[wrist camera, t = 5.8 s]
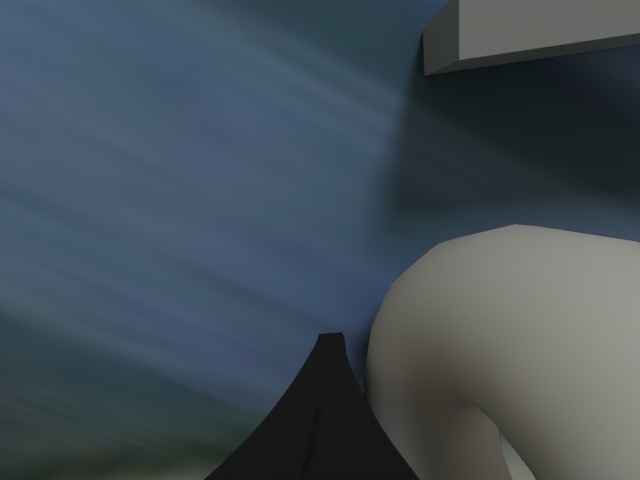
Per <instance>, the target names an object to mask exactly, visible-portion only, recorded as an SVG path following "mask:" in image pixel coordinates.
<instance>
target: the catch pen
mask: <svg viewBox="0 0 640 480" xmlns="http://www.w3.org/2000/svg"><path fill="white" fill-rule="evenodd" d="M638 44H640V0H450V1H449V2H448V3H447V4H446V6H445V7H444V8H443V9H442V10H441V11H440V12H439V13H438V14H437V15H436V16H435V17H434V19H433V20H432V21H431V22H430V23H429V24H428V25H427V26H426V27H425V28H424V29H423V49H424V76H426V75H433V74H440V73H447V72H453V71H460V70H467V69H474V68H481V67H488V66H494V65H501V64H508V63H515V62H522V61H529V60H535V59H542V58H549V57H556V56H563V55H570V54H576V53H583V52H590V51H597V50H604V49H610V48H617V47H624V46H631V45H638Z"/></svg>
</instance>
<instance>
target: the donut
mask: <svg viewBox="0 0 640 480" xmlns="http://www.w3.org/2000/svg"><path fill="white" fill-rule="evenodd" d="M364 383H365V399H366V401H367V403H368V405H369V407H370V408H371V410H372V412H373V414H374V415H375V417H376V419H377V420H378V422H379V423H380V425H381V427H382V428H383V430H384V431H385V433H386V434H387V436H388V437H389V439H390V440H391V442H392V443H393V445H394V446H395V447H396V449H397V450H398V451H399V453H400V454H401V455H402V457H403V458H404V459H405V460H406V462H407V463H408V464H409V466H410V467H411V468H412V470H413V471H414V472H415V473H416V475H417V476H418V477H419V479H420V480H512V478H511V475H510V472H509V469H508V466H507V464H506V461H505V458H504V455H503V453H502V447H501V441H500V436H499V430H500V431H501V433H502V434H503V435H504V437H505V438H506V439H507V440H508V442H509V443H510V444H511V446H512V447H513V448H514V449H515V451H516V452H517V453H518V455H519V456H520V457H521V459H522V460H523V461H524V462H525V464H526V465H527V466H528V468H529V469H530V470H531V472H532V473H533V475H534V477H535V479H536V480H640V243H638V242H635V241H629V240H622V239H616V238H609V237H603V236H597V235H590V234H584V233H577V232H571V231H565V230H558V229H552V228H546V227H539V226H528V225H517V224H514V225H510V226H505V227H501V228H497V229H493V230H489V231H484V232H480V233H476V234H472V235H467V236H463V237H459V238H456V239H452V240H449V241H445V242H442V243H439V244H437V245H436V246H435V247H433V248H432V249H431V250H429V251H428V252H427V253H426V254H424V255H423V256H422V257H421V258H420V259H418V260H417V261H416V262H415V263H414V264H413V265H412V266H410V267H409V268H408V269H407V270H406V271H405V272H404V273H403V274H401V275H400V276H399V277H398V278H397V279H396V280H395V281H394V282H393V283H392V285H391V287H390V289H389V291H388V292H387V294H386V296H385V298H384V300H383V302H382V305H381V307H380V309H379V311H378V314H377V316H376V318H375V320H374V322H373V325H372V327H371V332H370V339H369V346H368V353H367V359H366V367H365V377H364ZM498 429H499V430H498Z"/></svg>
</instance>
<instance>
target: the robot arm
mask: <svg viewBox="0 0 640 480" xmlns="http://www.w3.org/2000/svg"><path fill="white" fill-rule="evenodd" d="M204 480H420V479H419V477H418V476H417V475H416V473H415V472H414V471H413V470H412V468H411V467H410V466H409V464H408V463H407V462H406V460H405V459H404V458H403V457H402V455H401V454H400V453H399V451H398V450H397V449H396V447H395V446H394V445H393V443H392V442H391V440H390V439H389V437H388V436H387V434H386V433H385V431H384V430H383V428H382V427H381V425H380V423H379V422H378V420H377V419H376V417H375V415H374V414H373V412H372V410H371V408H370V407H369V405H368V403H367V401H366V399H365V397H364V395H363V394H362V392H361V390H360V387H359V385H358V383H357V381H356V379H355V376H354V374H353V372H352V369H351V367H350V364H349V361H348V358H347V355H346V348H345V340H344V335H343V334H342V332H341V333H327V334H319V336H318V339H317V342H316V344H315V346H314V348H313V350H312V351H311V353H310V355H309V357H308V358H307V360H306V362H305V363H304V365H303V367H302V368H301V370H300V371H299V373H298V374H297V376H296V378H295V379H294V381H293V382H292V384H291V385H290V386H289V388H288V389H287V391H286V392H285V393H284V395H283V396H282V397H281V399H280V400H279V402H278V403H277V404H276V406H275V407H274V408H273V409H272V411H271V412H270V413H269V414H268V416H267V417H266V418H265V419H264V420H263V421H262V423H261V424H260V425H259V426H258V427H257V428H256V429H255V431H254V432H253V433H252V434H251V435H250V436H249V437H248V438H247V439H246V440H245V441H244V442H243V443H242V444H241V445H240V446H239V447H238V448H237V449H236V450H235V451H234V452H233V453H232V454H231V455H230V456H229V457H228V458H227V459H226V460H225V461H224V462H223V463H222V464H221V465H220V466H219V467H218V468H217V469H215V470H214V471H213V472H212V473H211V474H210V475H209V476H207V477H206V478H205V479H204Z"/></svg>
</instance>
